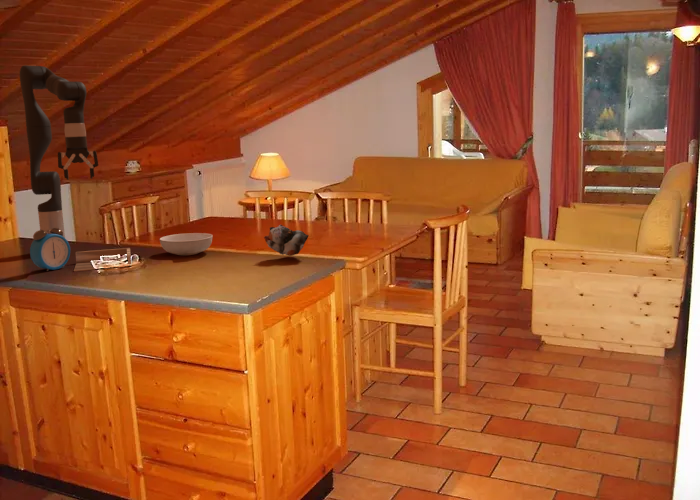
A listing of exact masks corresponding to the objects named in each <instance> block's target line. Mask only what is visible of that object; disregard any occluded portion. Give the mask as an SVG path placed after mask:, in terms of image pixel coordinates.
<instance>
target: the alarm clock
mask: <svg viewBox="0 0 700 500" xmlns="http://www.w3.org/2000/svg"><path fill="white" fill-rule="evenodd" d="M48 231H50V233H52V234H49V232H48ZM48 231H47V232H48V233H46V231H44V230H40V229H39V230H37V231H35V232H34V234H33V235H32V238H33V240H32V242H31V243H30V244H31V245H30V248H29V255H30V260H31V261H32V263H33V264H34V265H35V266H37V267H38V268H40V269H43V270H46V272H49V271H50V270H56V271H57V270H59V269H61V268H63V269H65V265H66V264H67V263H68V262H69V259H70V256H71V246H70V243H69V242H68V240H67V239H66V237H65V238H64V237H63V235H64V234H63V231H62V230H61V229H59V228H53V229H51V230H48Z"/></svg>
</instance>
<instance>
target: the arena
mask: <svg viewBox="0 0 700 500" xmlns="http://www.w3.org/2000/svg"><path fill="white" fill-rule="evenodd" d="M74 254H75V261H76V262H75V266H74V268H73V272H76V273H77V272H87V271H96V270H95V269H94V268H93V267H92V266H91V265H90V261H91V260H99V259H100V256H102V255H103V256H104V255H117V254H120V255H124V254H127V260H128V264H131V265H132V259H131V258H132V254H131V248H130V247H125V248H124V247H123V248H113V249H110V248H109V249H101V250H100V249H97V250H86V251H76V252H75V253H74Z"/></svg>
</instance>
